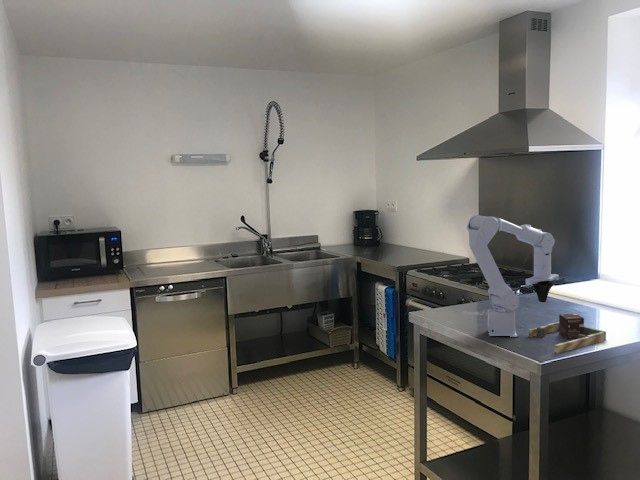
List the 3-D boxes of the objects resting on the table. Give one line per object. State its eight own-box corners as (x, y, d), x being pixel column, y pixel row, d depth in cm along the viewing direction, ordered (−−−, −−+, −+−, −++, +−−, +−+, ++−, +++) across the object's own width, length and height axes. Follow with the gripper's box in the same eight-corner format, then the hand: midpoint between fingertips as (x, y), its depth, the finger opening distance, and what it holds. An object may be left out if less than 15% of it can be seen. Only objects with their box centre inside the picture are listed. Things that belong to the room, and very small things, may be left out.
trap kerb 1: (542, 337, 183) (542, 329, 182) (536, 335, 185) (536, 327, 184) (544, 336, 183) (544, 328, 183) (539, 335, 185) (539, 326, 185)
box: (566, 339, 179) (566, 318, 178) (558, 334, 185) (558, 314, 184) (584, 339, 179) (584, 318, 178) (576, 333, 185) (576, 313, 184)
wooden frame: (557, 353, 166) (557, 344, 166) (515, 339, 182) (515, 331, 181) (605, 340, 176) (606, 331, 176) (562, 328, 191) (562, 320, 191)
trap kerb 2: (583, 344, 173) (583, 336, 173) (577, 343, 175) (577, 334, 175) (586, 344, 174) (586, 335, 173) (580, 342, 175) (580, 333, 175)
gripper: (536, 268, 183) (536, 306, 185) (565, 263, 190) (565, 300, 191) (520, 266, 190) (521, 303, 191) (549, 261, 196) (549, 297, 198)
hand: (542, 301), depth 192 cm, fingers closed
